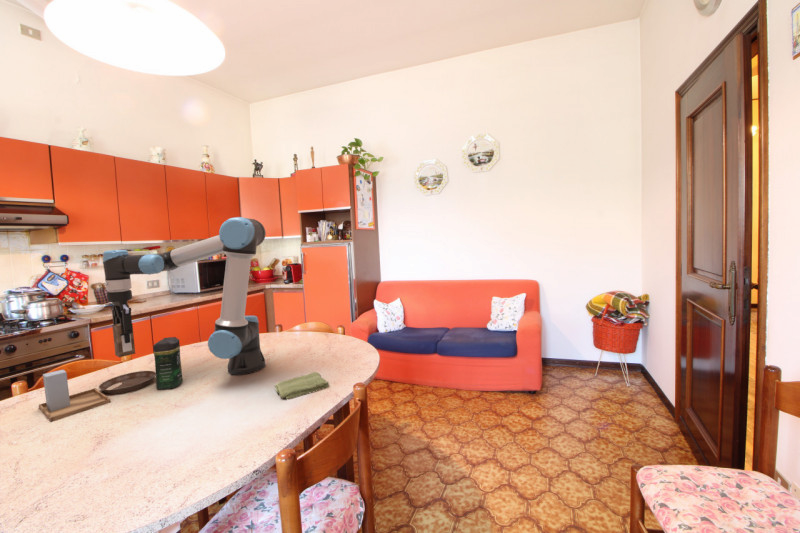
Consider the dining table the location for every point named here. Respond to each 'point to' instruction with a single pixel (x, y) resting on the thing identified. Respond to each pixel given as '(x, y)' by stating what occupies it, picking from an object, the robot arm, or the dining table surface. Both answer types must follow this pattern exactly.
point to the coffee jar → (167, 363)
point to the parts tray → (77, 404)
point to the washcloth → (301, 385)
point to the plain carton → (56, 390)
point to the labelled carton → (118, 341)
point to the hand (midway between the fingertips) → (125, 349)
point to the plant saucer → (128, 382)
